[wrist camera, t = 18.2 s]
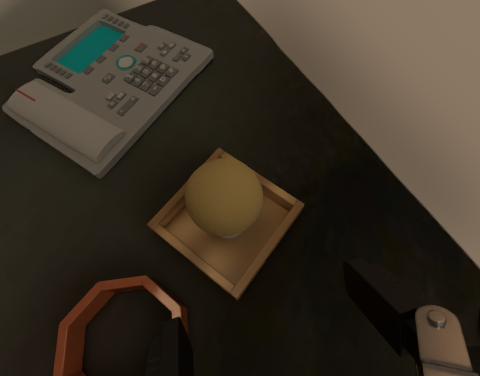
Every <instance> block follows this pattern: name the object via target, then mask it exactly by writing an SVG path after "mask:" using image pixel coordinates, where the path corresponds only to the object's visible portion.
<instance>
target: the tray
mask: <svg viewBox="0 0 480 376" xmlns="http://www.w3.org/2000/svg"><path fill="white" fill-rule="evenodd" d="M219 158H232V159H235V158H233V157H232V156H230V155H229V154H227V153H226V152H224V151H223V150H221V149H220V148H218V149H217V150H216V151H215V152H214V153H213V154H212V155H211V156H210V158H209V159H208V160H207V161H206V162H205V163H207V162H209V161H212V160H215V159H219ZM236 160H237V159H236ZM205 163H204V164H205ZM251 170H252V169H251ZM252 171H253V170H252ZM253 172H254V173H255V175H256V176H257V178H258V179H259V182H260V184H261V186H262V191H263V205H262V208H261V211H260V214H259V216H258V217H257V219H256V220H255V222H254V223H253V224H252V225H251V226H250V227H249V228H247V229H246V230H244V231H243V232H242V233H241V234H239V235H238V236H236V237H234V238H230V239H227V238H221V237H219V236H215V235H212V234H209V233H207V232H205V231H203V230H202V229H200V228H199V227H198V226H197V225H196V224H195V223H194V222H193V220H192V219H191V217H190V216H189V214H188V211H187V208H186V205H185V189H186V185H187V182H188V181H187V182H186V183H185V184H184V185H183V186H182V187H181V189H180V190H179V191H178V192H177V193H176V194H175V195H174V196H173V197H172V198H171V199H170V200H169V201H168V202H167V203H166V205H165V206H164V207H163V208H162V209H161V210H160V211H159V212H158V213H157V214H156V215H155V216H154V217H153V218H152V220H151V221H150V222H149V223H148V224H147V226H148V227H149V228H150V229H151V230H153V231H154V232H155V233H156V234H157V235H158V236H159V237H161V238H162V239H163V240H164V241H165V242H167V243H168V244H169V245H170V246H171V247H173V248H174V249H175V250H176V251H178V252H179V253H180V254H181V255H182V256H184V257H185V258H186V259H187V260H188V261H190V262H191V263H192V264H193V265H194V266H196V267H197V268H198V269H199V270H200V271H202V272H203V273H204V274H205V275H207V276H208V277H209V278H210V279H211V280H213V281H214V282H215V283H216V284H217V285H219V286H220V287H221V288H222V289H223V290H225V291H226V292H227V293H228V294H229V295H231V296H232V297H233V298H234V299H236V300H238V299H239V298H240V296H241V295H242V294H243V292H244V291H245V289H246V288H247V287H248V285H249V284H250V282H251V281H252V280H253V278H254V277H255V275H256V274H257V273H258V271H259V270H260V268H261V267H262V266H263V264H264V263H265V261H266V260H267V259H268V257H269V256H270V254H271V253H272V252H273V250H274V249H275V247H276V246H277V245H278V243H279V242H280V240H281V239H282V238H283V236H284V235H285V233H286V232H287V231H288V229H289V228H290V226H291V225H292V224H293V222H294V221H295V219H296V218H297V217H298V215H299V214H300V212H301V210H302V208H303V206H304V203H302V202H300V201H299V200H297V199H296V198H294V197H293V196H291V195H290V194H288V193H287V192H285V191H284V190H282V189H280V188H279V187H277V186H276V185H274V184H273V183H271V182H270V181H268V180H267V179H265V178H264V177H262V176H261V175H259V174H258V173H256V172H255V171H253Z"/></svg>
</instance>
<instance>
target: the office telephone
mask: <svg viewBox="0 0 480 376" xmlns="http://www.w3.org/2000/svg"><path fill="white" fill-rule="evenodd" d="M212 58H213V51H212V50H211V49H209V48H207V47H205V46H203V45H200V44H198V43H196V42H193V41H191V40H188V39H186V38H183V37H181V36H179V35H176V34H174V33H171V32H169V31H167V30H164V29H162V28H159V27H156V26H153V25H149V26H147V27H145V26H142V25H140V24H137V23H135V22H132V21H130V20H127V19H125V18H123V17H120V16H118V15H116V14H113V13H111V12H109V10H108V9H102V10H101V11H99V12H98V13H97V14H96V15H94V16H93V17H92V18H90V19H89V20H88V21H86V22H85V23H84V24H83V25H82V26H80V27H79V28H78V29H76V30H75V31H74V32H73V33H71V34H70V35H69V36H68V37H66V38H65V39H64V40H63V41H61V42H60V43H59V44H58V45H56V46H55V47H54V48H53V49H51V50H50V51H49V52H48V53H46V54H45V55H44V56H43V57H42V58H41V59H40V60H38V61H37V62H36V63H35V64H34V65H33V68H34V69H35V70H36V71H37V73H38V74H40V75H43V76H46V77H47V78H49V79H51V80H53V81H55V82H57V83H59V84H60V85H62V86H64V87H66V88H67V89H69V90H71V91H73V92H72V93H66V92H64V91H62V90H60V89H58V88H56V87H54V86H52V85H50V84H49V83H47V82H45V81H43V80H41V79H38V78H36V79H34V80H33V81H31V82H29V83H27V84H25V85H23V86H22V87H20V88H19V89H16V91H15V92H14V93H13V95H12V96H11V97H10V98H9V100H8V101H7V102H6V103H5V104H4V105H3V106H2V109H3V111H4V112H5V113H6V114H8V115H9V116H10V117H11V118H13V119H14V120H15V121H16V122H18V123H19V124H20V125H22V126H23V127H25V128H26V129H27V130H29V131H31V132H32V133H33V134H35V135H36V136H37V137H38V138H40V139H41V140H42V141H44V142H45V143H47V144H48V145H50V146H51V147H53V148H54V149H56V150H57V151H59V152H60V153H61V154H63V155H64V156H66V157H67V158H69V159H70V160H72V161H73V162H75V163H76V164H78V165H79V166H81V167H82V168H84V169H85V170H87V171H88V172H90V173H91V174H92V175H94V176H95V177H96V178H98V179H101V178H103V177H104V176H105V175H106V174H107V173H108V172H109V170H110V169H111V168H112V167H113V166H114V165H115V164H116V163H117V162H118V161H119V160H120V159H121V157H122V156H123V155H124V154H125V153H126V152H127V151H128V150H129V149H130V147H131V146H132V145H133V144H134V143H135V142H136V141H137V140H138V139H139V138H140V136H141V135H142V134H143V133H144V132H145V131H146V130H147V129H148V128H149V126H150V125H151V124H152V123H153V122H154V121H155V120H156V119H157V118H158V116H159V115H160V114H161V113H162V112H163V111H164V110H165V109H166V108H167V106H168V105H169V104H170V103H171V102H172V101H173V100H174V99H175V98H176V97H177V95H178V94H179V93H180V92H181V91H182V90H183V89H184V88H185V87H186V85H187V84H188V83H189V82H190V81H191V80H192V79H193V78H194V77H195V76H196V75H197V74H198V73H200V72H201V70H202V69H203V68H204V67H205V66H206V65H207V64H208V63H209V62H210V61H211V60H212Z"/></svg>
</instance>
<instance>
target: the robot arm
mask: <svg viewBox="0 0 480 376" xmlns="http://www.w3.org/2000/svg"><path fill="white" fill-rule="evenodd" d="M343 271H344V280H345V287H346V290H347V293H348V295H349V296H350V298H351V299H352V300H353V302H354V303H355V304H356V305H357V306H358V308H359V309H360V310H361V311H362V312H363V313H364V315H365V316H366V317H367V318H368V319H369V321H370V322H371V323H372V324H373V325H374V326H375V328H376V329H377V330H378V331H379V332H380V334H381V335H382V336H383V337H384V338H385V339H386V341H387V342H388V343H389V344H390V345H391V347H392V348H393V349H394V350H395V351H396V352H397V354H398V355H399V356H400V357H401V358H402V357H404V356H407V355H409V354H410V355H411V356H412V357H413V358H414V359H415V368H416V376H480V308H479V313H471V314H453V313H452V312H450V311H449V310H447V309H445V308H442V307H439V306H435V305H428V304H427V303H426V302H425V301H424V300H422V299H421V298H420V297H419V296H418V295H416V294H415V293H414V292H413V291H412V290H411V289H409V288H408V287H407V286H406V285H405V284H403V283H402V282H400V280H399V279H397V278H396V277H395V276H393V274H392V273H390V272H389V271H388V270H387V269H386V268H384V267H382V266H380V265H377V264H375V263H371V264H368V263H367V262H366V261H365V260H363V259H362V258H361V257H360V256H356V257H353V258H350V259H347V260H344V261H343ZM145 376H194V365H193V352H192V347H191V343H190V340H189V337H188V335H187V332H186V330H185V327H184V325H183V322H182V320H181V318H180V317H176V318H173V319H170V320H167V321H164V322H163V324H162V336H159V337H156V338H153V340H152V342H151V344H150V346H149V348H148V350H147V359H146V367H145Z"/></svg>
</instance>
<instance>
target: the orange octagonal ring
mask: <svg viewBox="0 0 480 376" xmlns="http://www.w3.org/2000/svg"><path fill="white" fill-rule="evenodd" d="M142 289H147V290H148V291H149V292H150V293H151V294H153V295H154V296H155V297H156V298H157V299H158V300H159V301H160V302H161V303H162V304H164V305H165V306H166V307H167V308H168V309H169V310H170V311H171V312H172V319H173V318H176V317H180V318H181V320H182V322H183V325H184V327H185V330H186V332H187V335H188V318H187V307H186V306H185V305H184V304H183V303H181V302H180V301H179V300H178V299H177V298H176V297H175V296H174V295H172V294H171V293H170V292H169V291H168V290H167V289H166V288H165V287H163V286H162V285H161V284H160V283H159V282H158V281H157V280H155V279H153V278H151V277H149V276H146V275H144V276H136V277H129V278H122V279H114V280H107V281H100V282H97V284H96V285H95V286H94V287H93V288H92V289H91V290H90V291H89V292H88V293H87V294H86V295H85V296H84V297H83V299H82V300H81V301H80V302H79V303H78V304H77V305H76V306H75V307H74V308H73V309H72V310H71V311H70V313H69V314H68V315H67V316H66V317H65V318H64V319H63V320H62V321H61V322H60V324H59V330H58V338H57V346H56V354H55V362H54V370H53V376H86V375H85V373H84V372H83V371H82V364H83V352H84V341H85V330H86V325H87V324H88V323H89V322H90V321H91V319H92V318H93V317H94V316H95V315H96V314H97V313H98V312H99V310H100V309H101V308H102V307H103V306H104V305H105V304H106V303H107V301H108V300H109V299H110V298H111V297H112V296H113V295H114V294H115V293H120V292H127V291H135V290H142Z"/></svg>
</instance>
